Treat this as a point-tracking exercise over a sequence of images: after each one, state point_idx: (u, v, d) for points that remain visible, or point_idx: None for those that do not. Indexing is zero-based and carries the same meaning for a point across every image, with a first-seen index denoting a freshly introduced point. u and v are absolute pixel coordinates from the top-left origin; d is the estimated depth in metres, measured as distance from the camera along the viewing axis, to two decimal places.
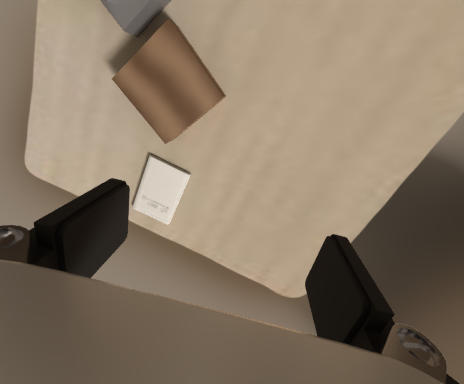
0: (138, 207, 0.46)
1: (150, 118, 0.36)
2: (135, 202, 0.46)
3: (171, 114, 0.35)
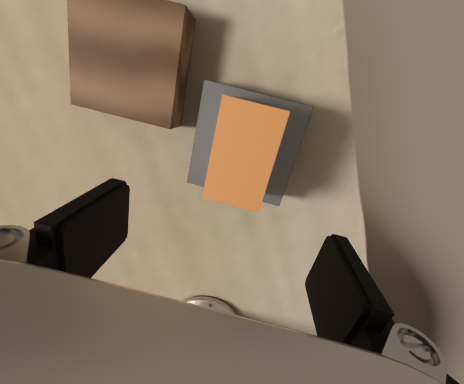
0: None
1: None
2: None
3: (93, 29, 0.24)
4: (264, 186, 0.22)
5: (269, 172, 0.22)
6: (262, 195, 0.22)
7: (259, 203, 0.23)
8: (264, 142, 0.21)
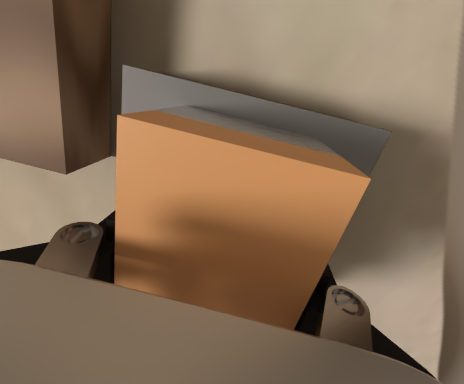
0: None
1: None
2: None
3: None
4: None
5: None
6: None
7: None
8: (272, 265, 0.06)
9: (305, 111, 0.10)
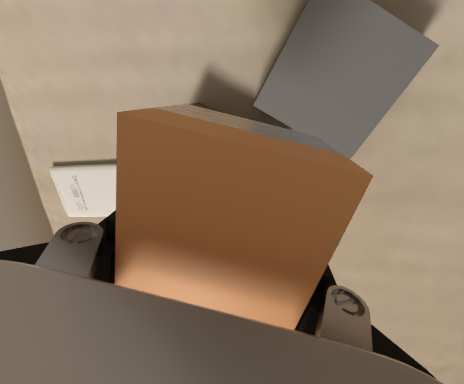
0: (56, 175, 0.33)
1: None
2: (59, 169, 0.33)
3: None
4: None
5: None
6: None
7: None
8: (273, 263, 0.06)
9: (298, 19, 0.20)
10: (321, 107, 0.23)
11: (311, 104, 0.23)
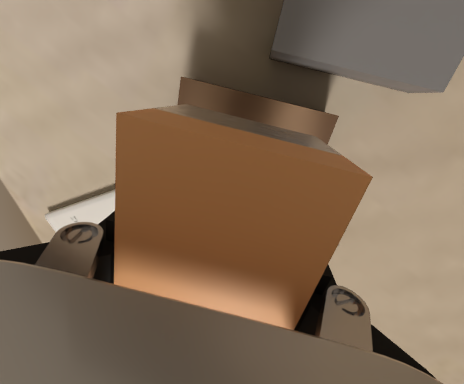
0: (54, 222, 0.28)
1: None
2: (55, 213, 0.27)
3: None
4: None
5: None
6: None
7: None
8: (273, 264, 0.06)
9: None
10: (382, 16, 0.14)
11: (364, 17, 0.14)
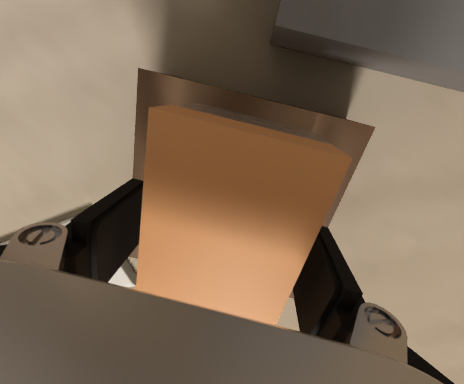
0: None
1: None
2: None
3: None
4: (272, 321, 0.09)
5: (284, 296, 0.09)
6: None
7: None
8: (273, 233, 0.08)
9: None
10: None
11: None
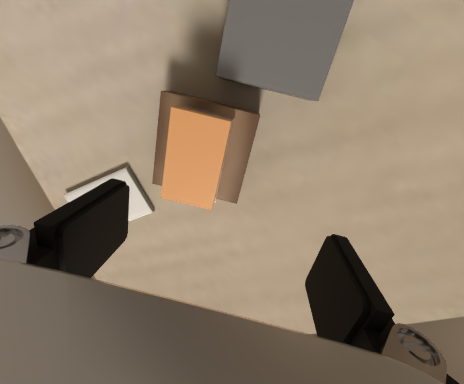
0: (71, 199, 0.37)
1: (160, 154, 0.30)
2: (72, 193, 0.37)
3: None
4: (214, 187, 0.25)
5: (218, 174, 0.24)
6: (213, 194, 0.25)
7: (211, 202, 0.26)
8: (211, 148, 0.23)
9: None
10: (277, 57, 0.25)
11: (267, 57, 0.25)
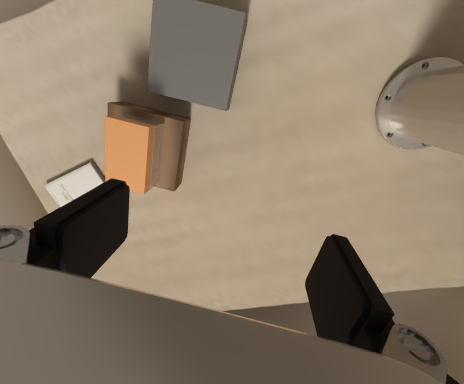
0: (50, 189, 0.46)
1: None
2: (50, 183, 0.45)
3: None
4: (143, 176, 0.33)
5: (145, 167, 0.32)
6: (143, 182, 0.33)
7: (143, 188, 0.34)
8: (137, 147, 0.31)
9: (151, 25, 0.30)
10: (190, 78, 0.32)
11: (183, 78, 0.32)
